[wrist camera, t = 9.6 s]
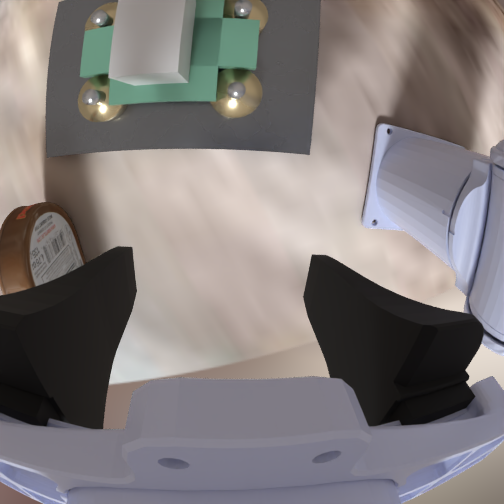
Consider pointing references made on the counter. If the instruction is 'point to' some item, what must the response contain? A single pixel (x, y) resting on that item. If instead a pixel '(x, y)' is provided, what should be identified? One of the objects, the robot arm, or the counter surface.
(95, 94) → the chassis
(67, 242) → the tin
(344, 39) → the counter surface
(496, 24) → the counter surface
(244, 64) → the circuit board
